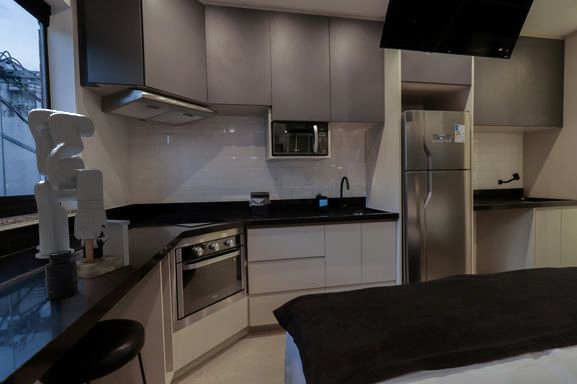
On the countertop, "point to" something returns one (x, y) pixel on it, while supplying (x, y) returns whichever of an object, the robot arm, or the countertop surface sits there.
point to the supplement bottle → (61, 275)
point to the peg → (90, 251)
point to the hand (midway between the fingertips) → (93, 257)
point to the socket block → (98, 266)
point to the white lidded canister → (117, 240)
